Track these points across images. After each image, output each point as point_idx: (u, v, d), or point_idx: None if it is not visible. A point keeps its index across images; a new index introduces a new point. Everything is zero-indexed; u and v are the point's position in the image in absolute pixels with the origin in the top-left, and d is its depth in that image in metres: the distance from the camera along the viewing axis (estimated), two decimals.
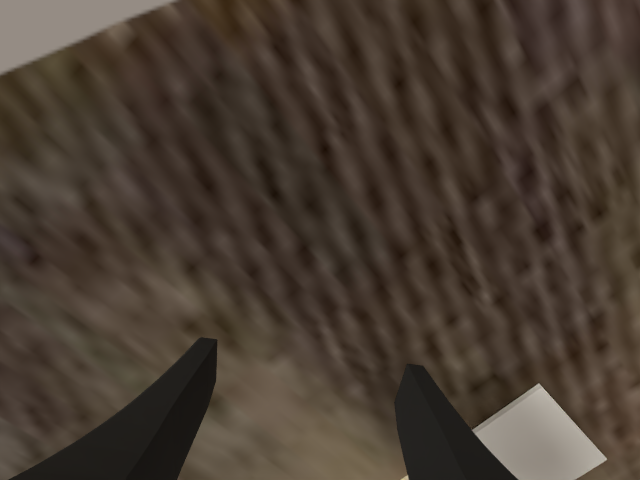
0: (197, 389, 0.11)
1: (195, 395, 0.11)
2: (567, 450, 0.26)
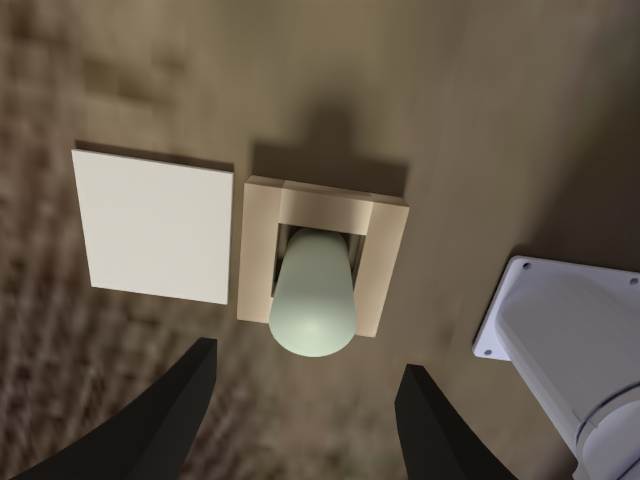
0: (197, 389, 0.11)
1: (195, 395, 0.11)
2: (109, 204, 0.20)
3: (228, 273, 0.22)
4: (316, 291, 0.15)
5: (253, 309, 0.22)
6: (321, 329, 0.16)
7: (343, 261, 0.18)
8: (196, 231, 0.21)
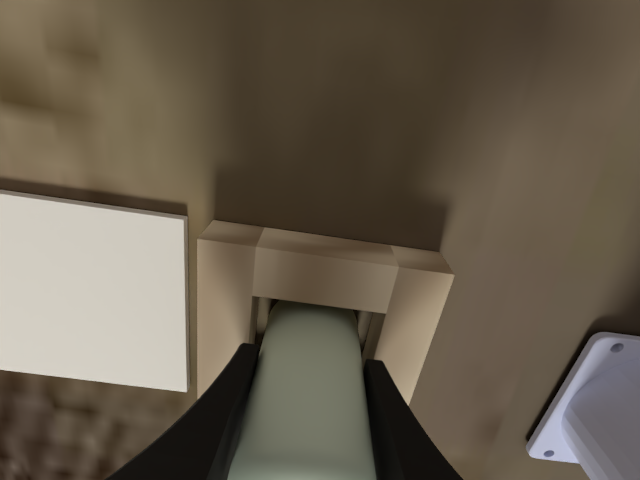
0: (245, 395, 0.11)
1: (244, 401, 0.11)
2: (4, 261, 0.14)
3: (186, 353, 0.16)
4: (307, 456, 0.08)
5: None
6: None
7: (352, 361, 0.12)
8: (136, 299, 0.14)
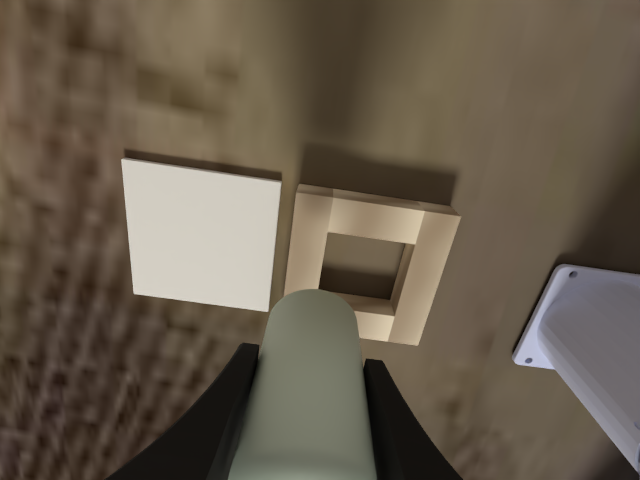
0: (245, 395, 0.11)
1: (244, 401, 0.11)
2: (156, 212, 0.20)
3: (271, 281, 0.22)
4: (307, 456, 0.08)
5: None
6: None
7: (352, 361, 0.12)
8: (241, 239, 0.21)
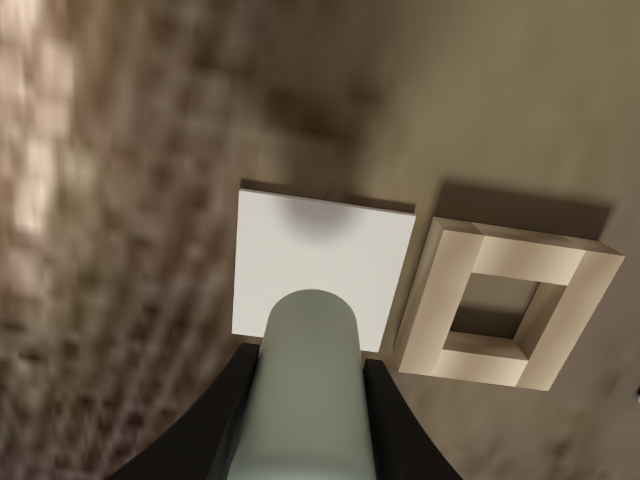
0: (245, 395, 0.11)
1: (244, 401, 0.11)
2: (269, 247, 0.18)
3: None
4: (307, 457, 0.08)
5: (419, 361, 0.20)
6: None
7: (352, 362, 0.12)
8: (361, 276, 0.19)
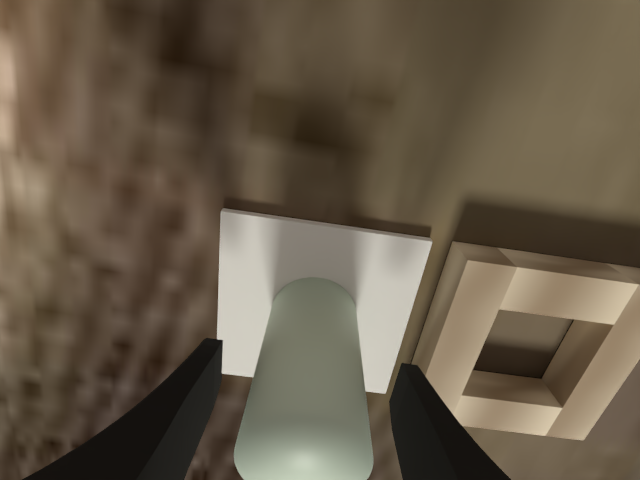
0: (203, 390, 0.11)
1: (202, 396, 0.11)
2: (258, 277, 0.15)
3: (395, 358, 0.17)
4: (308, 421, 0.09)
5: None
6: (317, 470, 0.10)
7: (350, 342, 0.13)
8: (366, 310, 0.16)
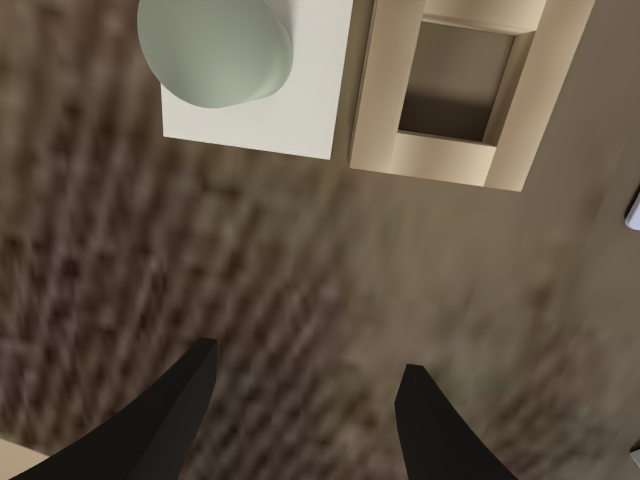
0: (197, 389, 0.11)
1: (195, 395, 0.11)
2: None
3: (336, 113, 0.18)
4: None
5: (372, 152, 0.17)
6: (219, 51, 0.10)
7: None
8: (303, 48, 0.17)
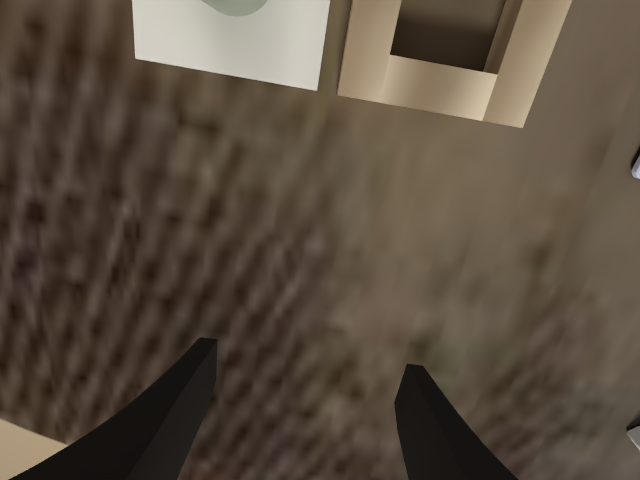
0: (197, 389, 0.11)
1: (195, 395, 0.11)
2: None
3: (324, 37, 0.16)
4: None
5: (362, 77, 0.16)
6: None
7: None
8: None
